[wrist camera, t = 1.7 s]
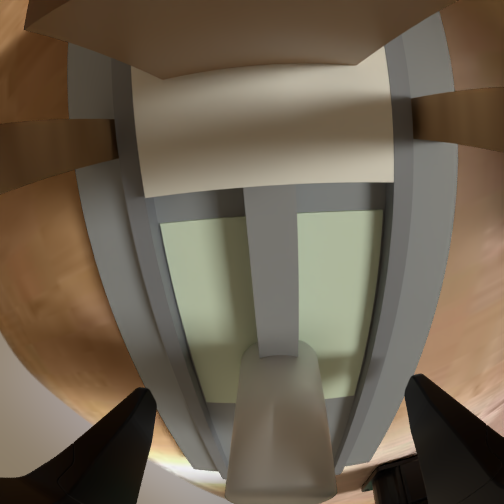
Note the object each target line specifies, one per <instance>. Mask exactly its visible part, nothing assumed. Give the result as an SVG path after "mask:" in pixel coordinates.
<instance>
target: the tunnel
mask: <svg viewBox="0 0 504 504" xmlns="http://www.w3.org/2000/svg"><path fill="white" fill-rule="evenodd" d="M411 106H412V121H413V139H421V140H430V141H438V142H446V143H453V144H460V145H467V146H473V147H478V148H484V149H489V150H494V151H499V152H503V153H504V87H494V88H481V89H471V90H462V91H454V92H446V93H439V94H433V95H427V96H421V97H415V98H411ZM114 159H119V155H118V147H117V138H116V129H115V119H54V120H36V121H24V122H14V123H5V124H0V194H3V193H5V192H8V191H11V190H13V189H16V188H19V187H22V186H24V185H27V184H30V183H33V182H36V181H39V180H42V179H45V178H48V177H51V176H55V175H58V174H61V173H65V172H68V171H72V170H75V169H79V168H82V167H86V166H90V165H94V164H98V163H102V162H106V161H110V160H114Z"/></svg>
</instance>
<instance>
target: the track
mask: <svg viewBox="0 0 504 504" xmlns="http://www.w3.org/2000/svg"><path fill="white" fill-rule="evenodd" d="M384 48H385V55H386V61H387V68H388V76H389V85H390V94H391V106H392V120H393V143H394V182H344V183H309V184H296V202H297V228H298V269H299V340H301V341H303V342H305V343H307V344H308V345H310V346H311V347H312V348H313V349H314V351H315V352H316V355H317V358H318V364H319V369H320V375H321V381H322V387H323V393H324V399H325V405H326V412H327V418H328V425H329V432H330V439H331V446H332V454H333V461H334V469H335V475H339V474H341V473H342V471H343V469H344V467H345V466H350V465H356V464H361V463H366V462H369V461H370V460H371V458H372V457H373V455H374V453H375V452H376V450H377V448H378V446H379V445H380V443H381V441H382V439H383V438H384V436H385V434H386V432H387V430H388V428H389V426H390V425H391V423H392V421H393V419H394V417H395V415H396V413H397V411H398V409H399V406H400V404H401V402H402V400H403V398H404V392H405V389H406V386H407V384H408V381H409V379H410V377H411V376H412V375H414V372H415V370H416V367H417V365H418V362H419V359H420V357H421V354H422V351H423V348H424V345H425V343H426V340H427V337H428V333H429V330H430V327H431V324H432V321H433V317H434V314H435V310H436V307H437V303H438V299H439V295H440V291H441V287H442V283H443V279H444V274H445V269H446V264H447V259H448V254H449V248H450V242H451V236H452V229H453V221H454V213H455V203H456V191H457V173H458V144H453V143H446V142H438V141H430V140H421V139H413V121H412V106H411V98H415V97H421V96H427V95H433V94H439V93H446V92H454V91H455V88H454V80H453V73H452V67H451V61H450V55H449V50H448V45H447V40H446V36H445V32H444V27H443V24H442V20H441V16H440V13H439V11H438V12H437V13H435V14H433V15H431V16H430V17H428V18H426V19H425V20H423V21H421V22H420V23H418V24H417V25H415V26H413V27H412V28H410V29H409V30H407V31H406V32H404V33H402V34H401V35H399V36H398V37H396V38H395V39H393V40H392V41H390V42H389V43H387V44H386V45H385V46H384ZM67 82H68V109H69V119H115V129H116V138H117V147H118V155H119V159H114V160H110V161H106V162H102V163H98V164H94V165H90V166H86V167H82V168H79V169H75V172H76V178H77V184H78V189H79V195H80V200H81V205H82V209H83V214H84V218H85V223H86V227H87V231H88V235H89V239H90V243H91V246H92V250H93V254H94V257H95V261H96V264H97V267H98V271H99V274H100V277H101V280H102V283H103V286H104V289H105V292H106V295H107V298H108V301H109V304H110V306H111V309H112V312H113V314H114V317H115V320H116V322H117V325H118V327H119V330H120V332H121V335H122V337H123V340H124V342H125V344H126V347H127V349H128V351H129V354H130V356H131V358H132V360H133V363H134V365H135V367H136V369H137V371H138V373H139V375H140V377H141V379H142V381H143V383H144V385H145V387H146V388H148V389H150V391H151V393H152V395H153V397H154V399H155V400H156V403H157V410H158V412H159V414H160V416H161V417H162V419H163V421H164V423H165V424H166V426H167V428H168V429H169V431H170V433H171V434H172V436H173V438H174V439H175V441H176V443H177V444H178V446H179V447H180V449H181V450H182V452H183V454H184V455H185V457H186V458H187V460H188V461H189V463H190V464H191V466H192V467H193V468H194V469H198V470H208V471H219V473H220V475H221V477H222V478H223V479H227V473H228V465H229V456H230V448H231V440H232V432H233V423H234V415H235V407H236V398H237V390H238V382H239V373H240V365H241V359H242V356H243V354H244V352H245V351H246V350H247V349H248V348H249V347H250V346H251V345H253V344H255V343H256V342H258V337H257V327H256V316H255V306H254V296H253V286H252V275H251V265H250V255H249V244H248V234H247V224H246V213H245V203H244V192H243V187H242V188H230V189H219V190H209V191H199V192H190V193H181V194H173V195H165V196H157V197H150V198H145V194H144V188H143V182H142V175H141V169H140V162H139V154H138V146H137V138H136V129H135V119H134V107H133V94H132V78H131V66H130V65H128V64H126V63H123V62H121V61H118V60H116V59H113V58H111V57H108V56H106V55H103V54H100V53H98V52H95V51H92V50H89V49H87V48H84V47H81V46H78V45H75V44H72V43H69V42H68V65H67Z"/></svg>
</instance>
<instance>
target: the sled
mask: <svg viewBox="0 0 504 504" xmlns="http://www.w3.org/2000/svg"><path fill="white" fill-rule="evenodd" d="M456 1H458V0H29V4H28V9H27V14H26V19H25V25H24V30H26V31H30V32H34V33H38V34H41V35H45V36H49V37H52V38H56V39H59V40H62V41H65V42H69V43H72V44H75V45H78V46H81V47H84V48H87V49H89V50H92V51H95V52H98V53H100V54H103V55H106V56H108V57H111V58H113V59H116V60H118V61H121V62H123V63H126V64H128V65H130V66H131V78H132V94H133V107H134V119H135V129H136V138H137V146H138V154H139V162H140V169H141V175H142V182H143V188H144V194H145V198H150V197H157V196H165V195H173V194H181V193H190V192H199V191H209V190H219V189H230V188H242V187H243V192H244V203H245V213H246V224H247V234H248V244H249V255H250V265H251V275H252V286H253V296H254V306H255V316H256V327H257V337H258V342H256V343H255V344H253V345H251V346H250V347H249V348H248V349H247V350H246V351H245V352H244V354H243V356H242V359H241V365H240V373H239V382H238V390H237V398H236V407H235V415H234V423H233V432H232V440H231V448H230V456H229V465H228V473H227V481H226V489H225V498H226V499H227V500H228V501H230V502H232V503H234V504H319V503H322V502H325V501H327V500H329V499H331V498H333V497H334V496H335V495H336V494H337V486H336V478H335V469H334V461H333V454H332V446H331V439H330V432H329V425H328V418H327V412H326V405H325V399H324V393H323V387H322V381H321V375H320V369H319V364H318V358H317V355H316V352H315V351H314V349H313V348H312V347H311V346H310V345H308V344H307V343H305V342H303V341H301V340H299V269H298V228H297V202H296V184H309V183H344V182H394V143H393V120H392V106H391V94H390V85H389V76H388V68H387V61H386V55H385V48H384V46H385V45H386V44H387V43H389V42H390V41H392V40H393V39H395V38H396V37H398V36H399V35H401V34H402V33H404V32H406V31H407V30H409V29H410V28H412V27H413V26H415V25H417V24H418V23H420V22H421V21H423V20H425V19H426V18H428V17H430V16H431V15H433V14H435V13H437V12H438V11H440V10H442V9H443V8H445V7H447V6H449V5H451V4H452V3H454V2H456Z"/></svg>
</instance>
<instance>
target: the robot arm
mask: <svg viewBox="0 0 504 504" xmlns="http://www.w3.org/2000/svg"><path fill="white" fill-rule="evenodd" d="M404 396H405V401H406V406H407V412H408V417H409V423H410V429H411V433H412V437H413V441H414V444H415V448H416V452H417V455H418V456H416V457H413V458H409V459H406V460H402V461H399V462H395V463H391V464H387V465H383V466H380V467H378V468H376V469H375V471H374V472H373V473H372V475H371V476H370V477H369V479H368V480H367V481H366V483H365V484H364V485H363V487H362V488H361V490H362V492H365V491H370V490H373V494H374V500H375V504H504V437H502V436H501V435H500V434H498V433H497V432H496V431H494V430H493V429H492V428H491V427H489V426H488V425H486V424H485V423H484V422H483V421H482V420H480V419H479V418H478V417H477V416H475V415H474V414H473V413H472V412H470V411H469V410H468V409H466V408H465V407H464V406H463V405H461V404H460V403H459V402H458V401H456V400H455V399H454V398H453V397H451V396H450V395H449V394H447V393H446V392H445V391H444V390H442V389H441V388H440V387H439V386H437V385H436V384H435V383H433V382H432V381H431V380H430V379H428V378H427V377H426V376H425V375H423V374H416V375H412V376H411V377H410V379H409V381H408V384H407V386H406V389H405V392H404ZM156 410H157V403H156V400H155V399H154V397H153V395H152V393H151V391H150V389H148V388H142V387H139V388H137V389H135V390H134V391H133V392H132V393H131V394H130V395H129V396H127V397H126V398H125V399H124V400H123V401H122V402H121V403H119V404H118V405H117V406H116V407H115V408H114V409H112V410H111V411H110V412H109V413H108V414H107V415H105V416H104V417H103V418H102V419H101V420H100V421H98V422H97V423H96V424H95V425H94V426H93V427H91V428H90V429H89V430H88V431H87V432H85V433H84V434H83V435H82V436H81V437H79V438H78V439H77V440H76V441H75V442H74V444H71V445H70V446H69V447H67V448H66V449H65V450H64V451H62V452H61V453H60V454H58V455H57V456H56V457H54V458H53V459H51V460H50V461H48V462H47V463H45V464H43V465H42V466H40V467H39V468H37V469H35V470H34V471H32V472H31V473H29V474H27V475H25V476H22V477H16V478H0V504H136V503H137V498H138V494H139V490H140V486H141V482H142V478H143V474H144V470H145V466H146V462H147V459H148V455H149V451H150V447H151V443H152V437H153V430H154V423H155V417H156Z"/></svg>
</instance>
